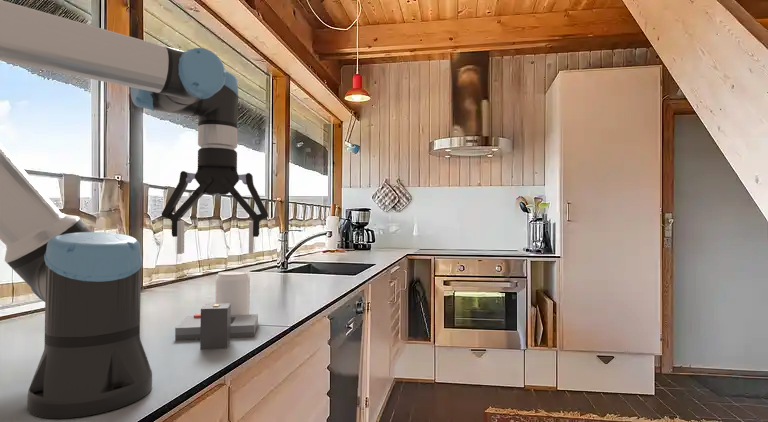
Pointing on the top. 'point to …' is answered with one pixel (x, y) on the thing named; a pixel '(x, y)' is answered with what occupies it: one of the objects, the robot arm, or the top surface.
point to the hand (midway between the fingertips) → (216, 253)
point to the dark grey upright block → (215, 326)
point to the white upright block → (234, 291)
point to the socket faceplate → (239, 326)
